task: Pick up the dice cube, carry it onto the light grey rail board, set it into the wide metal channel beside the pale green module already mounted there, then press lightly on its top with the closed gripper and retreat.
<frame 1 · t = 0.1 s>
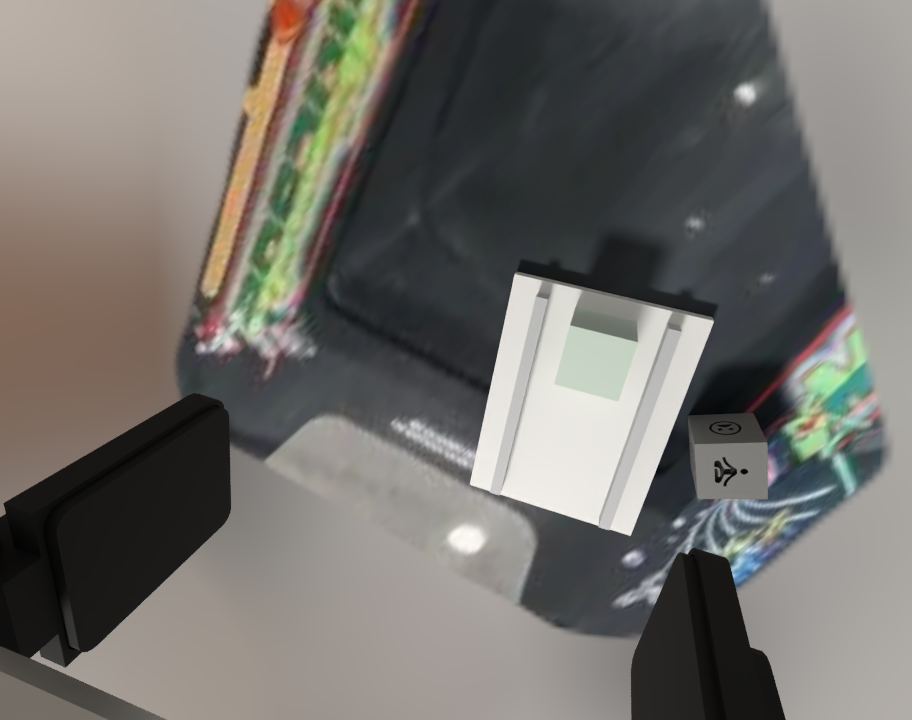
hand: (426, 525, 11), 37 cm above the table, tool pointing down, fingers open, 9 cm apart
dice cube: (720, 438, 46), on the table
rail board: (577, 408, 49), on the table
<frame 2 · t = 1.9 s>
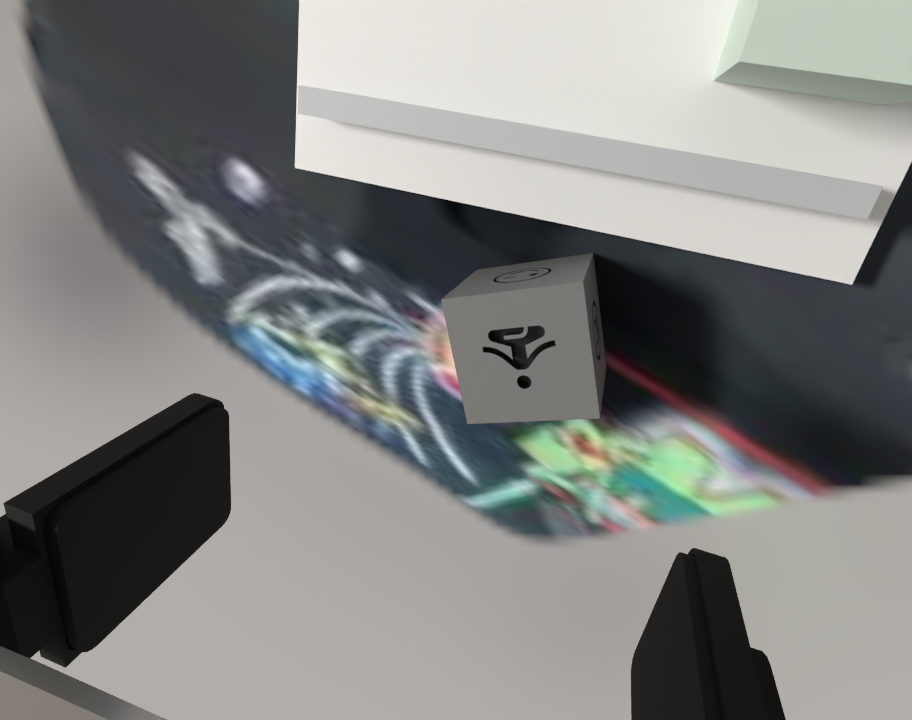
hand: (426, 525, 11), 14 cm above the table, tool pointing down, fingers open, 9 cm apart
dice cube: (542, 316, 24), on the table
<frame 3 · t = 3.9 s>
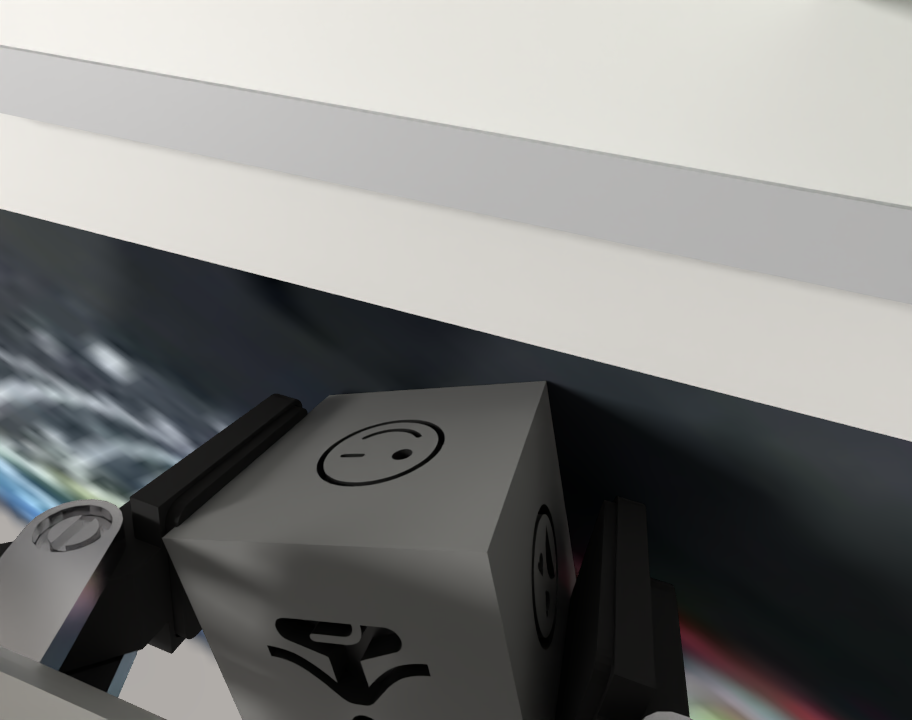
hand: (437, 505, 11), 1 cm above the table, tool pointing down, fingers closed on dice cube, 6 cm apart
dice cube: (455, 483, 13), on the table, touching gripper
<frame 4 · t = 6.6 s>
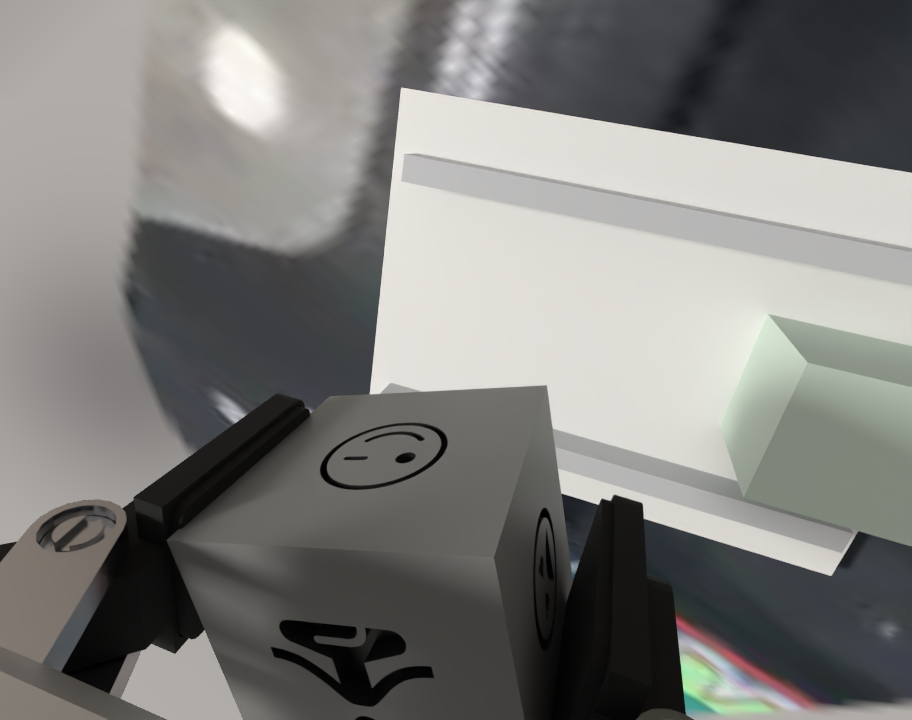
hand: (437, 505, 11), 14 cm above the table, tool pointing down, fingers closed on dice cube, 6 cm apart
dice cube: (454, 484, 13), point 13 cm above the table, touching gripper
rail board: (627, 336, 23), on the table
when the fingers open (3 cm above the table, at t = 9.4 s): dice cube stays where it is, resting on rail board.
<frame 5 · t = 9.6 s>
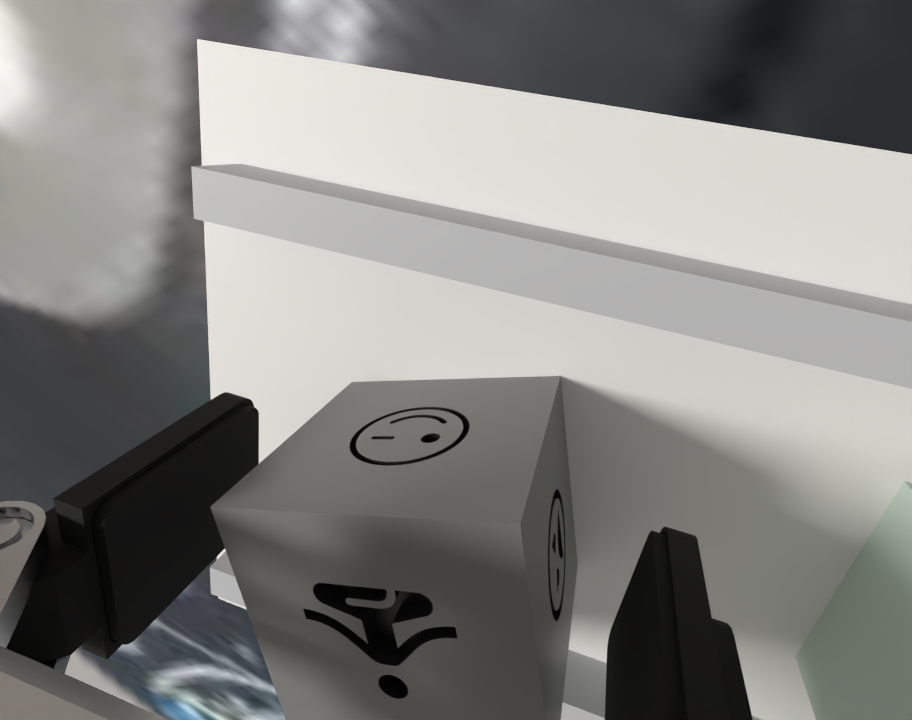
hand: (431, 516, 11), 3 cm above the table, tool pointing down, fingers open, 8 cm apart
dice cube: (467, 469, 13), point 1 cm above the table, touching rail board
rail board: (627, 485, 13), on the table
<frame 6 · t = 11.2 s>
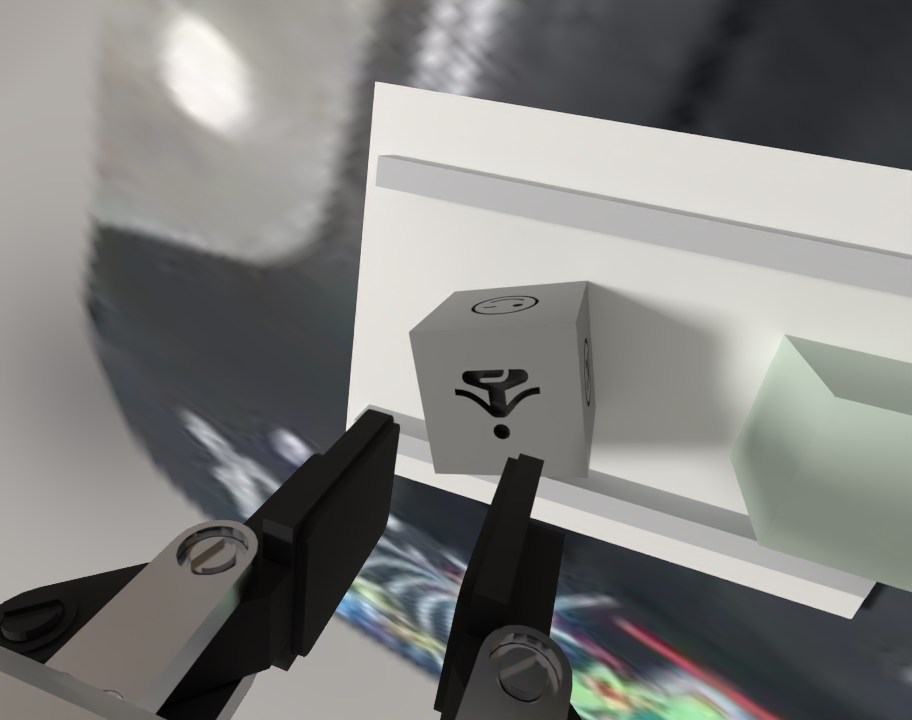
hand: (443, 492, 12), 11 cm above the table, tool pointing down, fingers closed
dice cube: (526, 347, 21), point 1 cm above the table, touching rail board
rail board: (627, 356, 21), on the table
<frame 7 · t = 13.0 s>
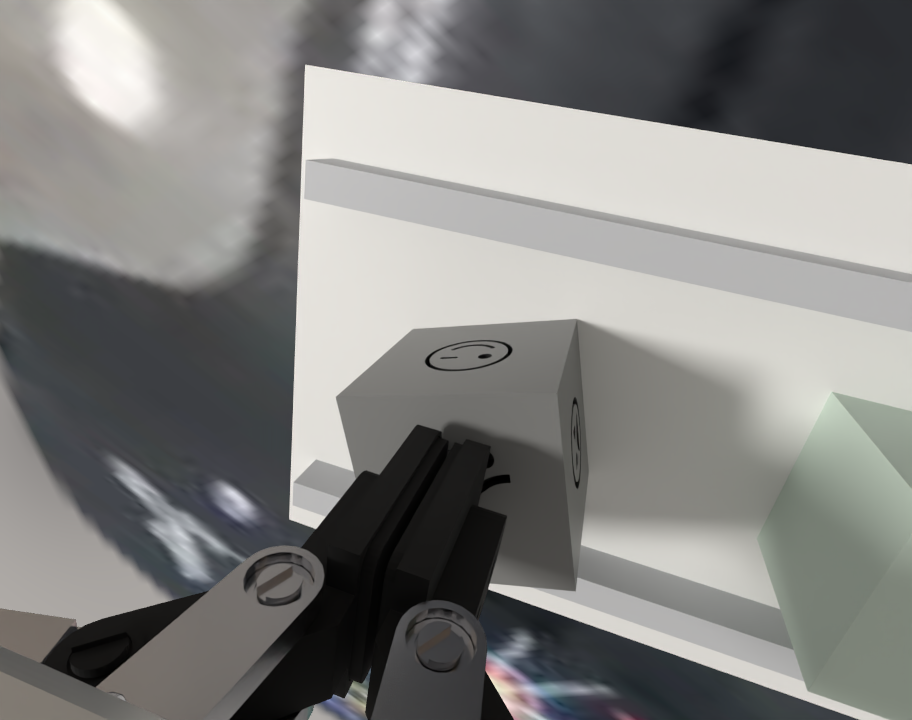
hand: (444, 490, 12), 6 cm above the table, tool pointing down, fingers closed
dice cube: (502, 398, 17), point 1 cm above the table, touching rail board
rail board: (628, 410, 17), on the table
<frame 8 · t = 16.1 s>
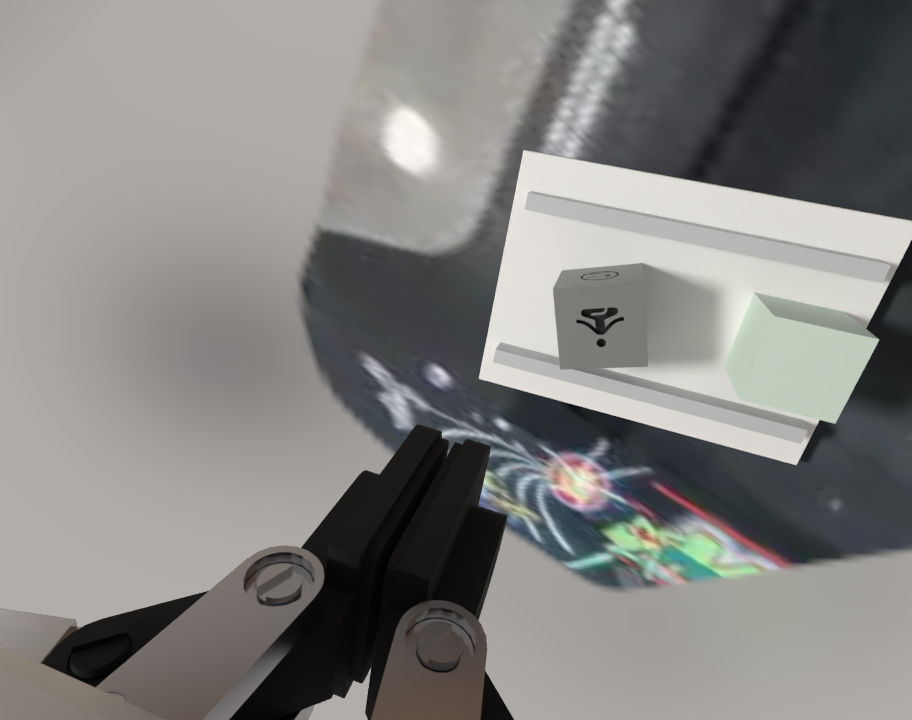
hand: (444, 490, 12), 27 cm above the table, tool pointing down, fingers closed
dice cube: (603, 303, 36), point 1 cm above the table, touching rail board
rail board: (663, 308, 35), on the table
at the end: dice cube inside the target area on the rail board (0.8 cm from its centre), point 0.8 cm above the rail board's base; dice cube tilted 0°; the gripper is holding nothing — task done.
